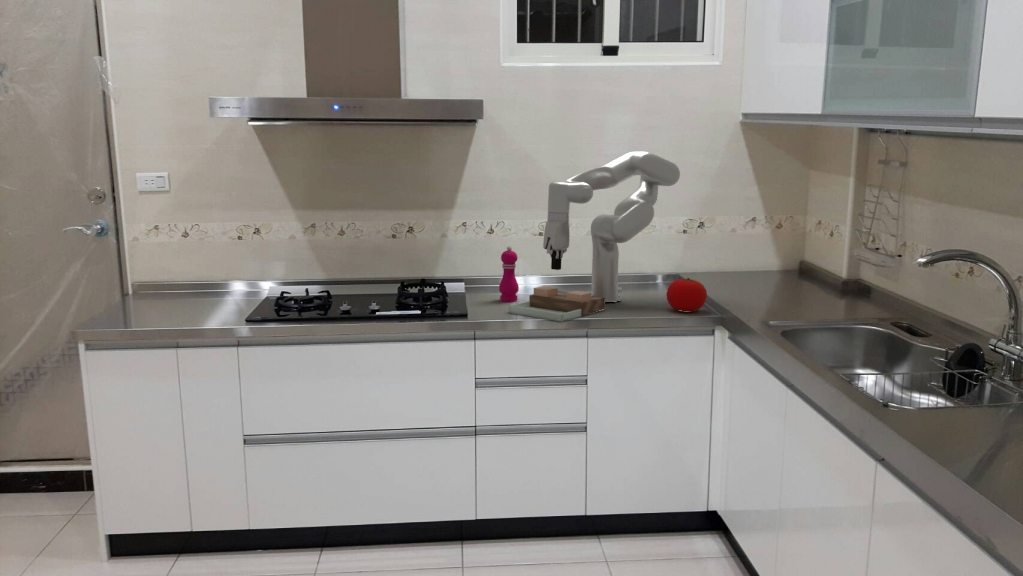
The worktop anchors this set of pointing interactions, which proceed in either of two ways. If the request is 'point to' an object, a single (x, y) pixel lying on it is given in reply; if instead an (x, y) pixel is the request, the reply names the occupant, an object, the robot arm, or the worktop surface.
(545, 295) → the tile
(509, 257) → the pepper mill
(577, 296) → the tile
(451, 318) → the worktop surface
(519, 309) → the tray
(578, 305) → the board
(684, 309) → the tomato
